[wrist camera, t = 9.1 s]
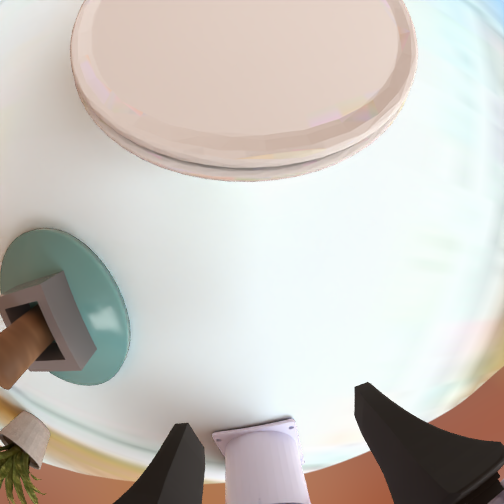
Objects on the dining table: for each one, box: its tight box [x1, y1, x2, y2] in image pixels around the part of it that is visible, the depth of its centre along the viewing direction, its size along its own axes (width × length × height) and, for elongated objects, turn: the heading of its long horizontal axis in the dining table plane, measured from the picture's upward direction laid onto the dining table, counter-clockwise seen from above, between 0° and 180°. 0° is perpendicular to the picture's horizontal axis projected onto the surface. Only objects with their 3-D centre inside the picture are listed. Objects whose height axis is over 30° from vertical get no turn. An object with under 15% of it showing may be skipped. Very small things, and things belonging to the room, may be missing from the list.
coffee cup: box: [70, 0, 418, 182], centre depth 10 cm, size 9×9×12 cm
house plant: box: [0, 411, 50, 504], centre depth 13 cm, size 14×14×16 cm
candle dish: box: [0, 228, 130, 386], centre depth 16 cm, size 14×14×4 cm
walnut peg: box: [0, 304, 55, 389], centre depth 13 cm, size 3×3×8 cm
